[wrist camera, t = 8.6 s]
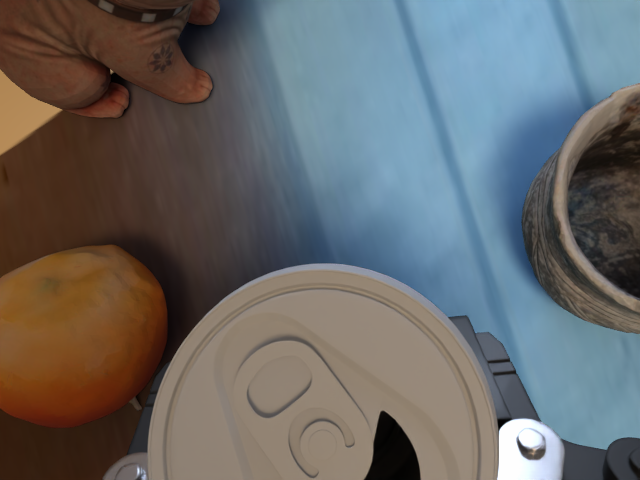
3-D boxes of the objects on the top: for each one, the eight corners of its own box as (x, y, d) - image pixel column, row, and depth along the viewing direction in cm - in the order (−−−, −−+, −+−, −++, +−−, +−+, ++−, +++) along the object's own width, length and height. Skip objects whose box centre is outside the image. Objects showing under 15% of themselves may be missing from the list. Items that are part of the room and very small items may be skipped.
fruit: (-4, 461, 23) (-119, 368, 17) (71, 321, 28) (2, 216, 23) (167, 471, 22) (105, 377, 16) (208, 326, 28) (173, 219, 22)
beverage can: (325, 527, 18) (277, 798, 7) (226, 384, 20) (50, 402, 8) (455, 416, 19) (618, 486, 7) (351, 286, 20) (349, 176, 9)
